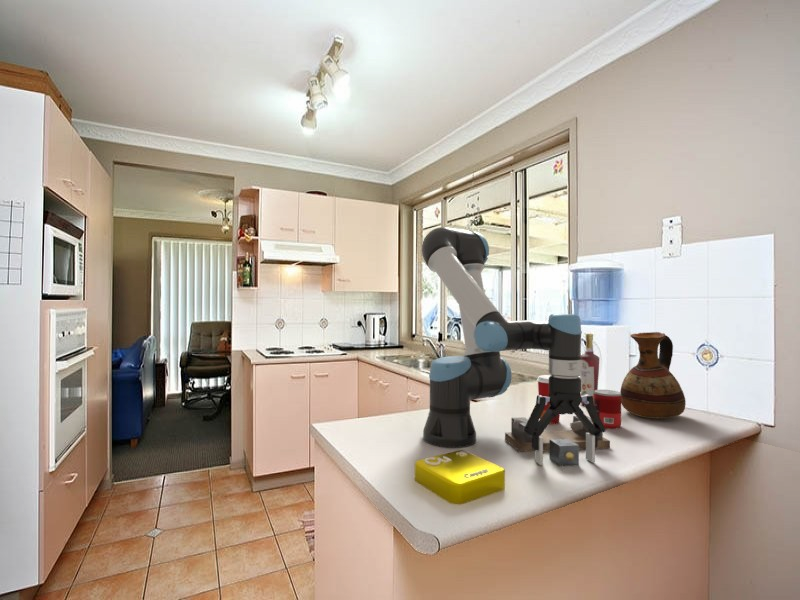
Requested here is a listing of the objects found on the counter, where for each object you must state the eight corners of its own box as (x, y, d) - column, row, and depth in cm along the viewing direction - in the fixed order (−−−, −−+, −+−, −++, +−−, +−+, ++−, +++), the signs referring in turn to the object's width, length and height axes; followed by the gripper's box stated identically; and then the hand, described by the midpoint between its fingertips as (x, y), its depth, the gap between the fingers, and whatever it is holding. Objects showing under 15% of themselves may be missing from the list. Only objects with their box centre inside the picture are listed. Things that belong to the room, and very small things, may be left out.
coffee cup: (561, 419, 141) (561, 375, 141) (564, 426, 133) (564, 379, 133) (535, 417, 143) (535, 374, 144) (536, 424, 135) (537, 378, 136)
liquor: (603, 406, 160) (603, 334, 161) (591, 408, 157) (591, 334, 157) (586, 402, 167) (587, 333, 167) (574, 404, 163) (575, 333, 163)
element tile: (455, 508, 79) (455, 483, 79) (410, 480, 92) (411, 458, 92) (509, 490, 88) (509, 467, 88) (461, 466, 100) (461, 446, 100)
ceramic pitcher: (608, 412, 152) (608, 330, 152) (641, 406, 161) (641, 329, 161) (663, 426, 134) (663, 334, 135) (697, 418, 144) (697, 332, 144)
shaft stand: (519, 451, 110) (519, 424, 110) (505, 439, 119) (505, 414, 120) (609, 448, 113) (610, 421, 113) (588, 436, 123) (588, 412, 123)
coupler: (580, 467, 100) (580, 446, 100) (561, 468, 99) (561, 447, 99) (566, 457, 106) (566, 437, 106) (547, 457, 106) (547, 438, 106)
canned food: (626, 427, 133) (626, 393, 133) (608, 430, 130) (608, 395, 130) (606, 421, 140) (606, 388, 140) (588, 423, 137) (588, 390, 137)
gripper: (523, 379, 97) (523, 469, 97) (620, 377, 101) (621, 465, 100) (510, 374, 105) (510, 458, 104) (601, 372, 108) (601, 454, 108)
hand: (564, 461), depth 102 cm, fingers open, 13 cm apart
